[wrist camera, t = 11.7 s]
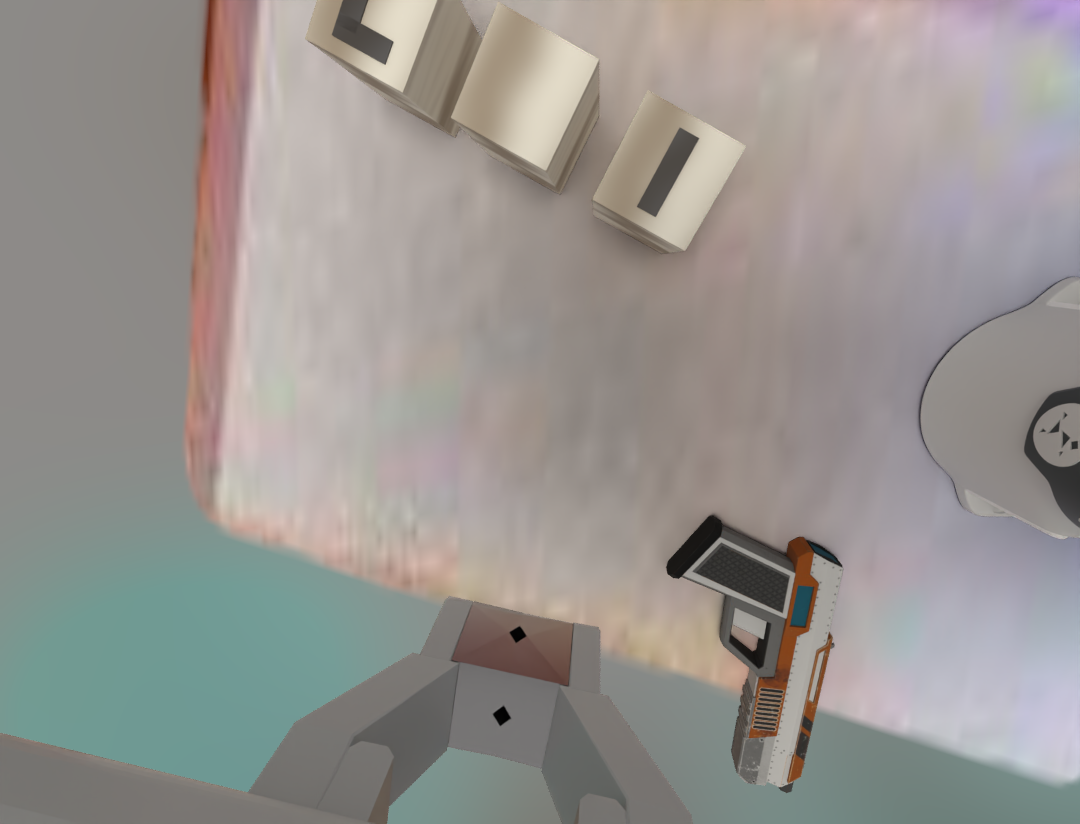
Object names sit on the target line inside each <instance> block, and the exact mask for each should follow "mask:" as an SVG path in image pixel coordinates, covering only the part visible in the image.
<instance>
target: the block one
mask: <svg viewBox="0 0 1080 824" xmlns="http://www.w3.org/2000/svg"><path fill="white" fill-rule="evenodd" d="M745 148H746V146H745V145H744V144H742V143H740V142H738V141H737V140H735V139H733V138H731V137H729V136H728V135H726V134H724V133H722V132H721V131H719V130H717V129H715V128H714V127H712V126H710V125H708V124H706V123H705V122H703V121H701V120H699V119H698V118H696V117H694V116H692V115H691V114H689V113H687V112H685V111H684V110H682V109H680V108H678V107H676V106H675V105H673V104H671V103H669V102H668V101H666V100H664V99H662V98H661V97H659V96H657V95H655V94H654V93H652V92H650V91H647V93H646V95H645V97H644V99H643V101H642V103H641V105H640V107H639V109H638V111H637V113H636V114H635V116H634V118H633V120H632V122H631V124H630V126H629V128H628V130H627V132H626V134H625V136H624V138H623V140H622V142H621V144H620V146H619V148H618V150H617V152H616V154H615V156H614V157H613V159H612V161H611V163H610V165H609V167H608V169H607V171H606V173H605V175H604V177H603V179H602V181H601V183H600V185H599V187H598V189H597V191H596V193H595V195H594V197H593V199H592V204H593V213H594V216H595V217H597V218H598V219H600V220H602V221H604V222H606V223H607V224H609V225H611V226H613V227H615V228H616V229H618V230H620V231H622V232H624V233H626V234H627V235H629V236H631V237H633V238H635V239H636V240H638V241H640V242H642V243H644V244H645V245H647V246H649V247H651V248H653V249H654V250H656V251H658V252H660V253H662V254H665V253H673V252H681V251H685V250H686V249H687V247H688V245H689V244H690V242H691V240H692V238H693V237H694V235H695V233H696V232H697V230H698V228H699V226H700V225H701V223H702V221H703V220H704V218H705V216H706V215H707V213H708V211H709V209H710V208H711V206H712V204H713V203H714V201H715V199H716V197H717V196H718V194H719V192H720V191H721V189H722V187H723V185H724V184H725V182H726V180H727V179H728V177H729V175H730V173H731V172H732V170H733V168H734V167H735V165H736V163H737V161H738V160H739V158H740V156H741V155H742V153H743V151H744V150H745Z"/></svg>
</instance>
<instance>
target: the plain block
mask: <svg viewBox="0 0 1080 824" xmlns="http://www.w3.org/2000/svg"><path fill="white" fill-rule="evenodd" d="M598 117H599V59H598V58H596V57H594V56H592V55H591V54H589V53H587V52H585V51H584V50H582V49H580V48H578V47H577V46H575V45H573V44H571V43H570V42H568V41H566V40H564V39H563V38H561V37H559V36H557V35H555V34H554V33H552V32H550V31H548V30H547V29H545V28H543V27H541V26H540V25H538V24H536V23H534V22H533V21H531V20H529V19H527V18H526V17H524V16H522V15H520V14H519V13H517V12H515V11H513V10H512V9H510V8H508V7H506V6H505V5H503V4H501V3H499V2H498V4H497V6H496V8H495V11H494V13H493V16H492V18H491V21H490V23H489V26H488V28H487V30H486V33H485V35H484V38H483V40H482V43H481V45H480V47H479V50H478V52H477V55H476V57H475V60H474V62H473V65H472V67H471V69H470V72H469V74H468V77H467V79H466V82H465V84H464V87H463V89H462V91H461V94H460V96H459V99H458V101H457V104H456V106H455V109H454V111H453V113H452V116H451V119H453V120H454V121H455V122H456V123H457V124H458V125H459V126H460V127H461V128H462V129H463V130H464V131H465V132H466V133H467V134H468V135H469V136H470V137H471V138H472V139H473V140H474V141H475V142H476V143H477V144H478V145H479V146H480V147H481V148H482V149H484V150H485V151H486V152H487V153H488V154H489V155H490V156H491V157H493V158H495V159H496V160H498V161H500V162H502V163H504V164H505V165H507V166H509V167H511V168H512V169H514V170H516V171H518V172H520V173H521V174H523V175H525V176H527V177H529V178H530V179H532V180H534V181H536V182H538V183H539V184H541V185H543V186H545V187H547V188H548V189H550V190H552V191H554V192H556V193H557V194H559V195H560V194H561V192H562V190H563V188H564V186H565V184H566V182H567V180H568V178H569V176H570V174H571V172H572V170H573V168H574V166H575V164H576V162H577V160H578V158H579V156H580V154H581V152H582V150H583V148H584V146H585V144H586V142H587V140H588V138H589V136H590V133H591V131H592V129H593V127H594V125H595V123H596V121H597V119H598Z"/></svg>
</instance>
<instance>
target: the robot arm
mask: <svg viewBox="0 0 1080 824" xmlns="http://www.w3.org/2000/svg"><path fill="white" fill-rule="evenodd" d="M921 429H922V434H923V438H924V441H925V444H926V446H927V448H928V450H929V452H930V454H931V455H932V457H933V458H934V460H935V461H936V462H937V463H938V464H939V465H940V466H941V467H942V468H943V469H944V470H945V471H946V472H947V473H948V474H949V476H950V477H951V478H952V480H953V481H954V484H955V488H956V492H957V495H958V498H959V501H960V503H961V505H962V506H963V508H964V509H966V510H967V511H969V512H971V513H973V514H975V515H978V516H986V517H1015V518H1017V519H1019V520H1021V521H1023V522H1025V523H1027V524H1029V525H1030V526H1032V527H1034V528H1036V529H1038V530H1040V531H1042V532H1044V533H1046V534H1048V535H1050V536H1052V537H1055V538H1058V539H1066V538H1068V537H1073V538H1080V277H1070V278H1066V279H1064V280H1062V281H1060V282H1058V283H1057V284H1055V285H1054V286H1053V287H1051V288H1050V289H1048V290H1047V291H1046V292H1045V293H1043V294H1042V295H1041V296H1040V297H1038V298H1037V299H1036V300H1035V301H1034V302H1032V303H1031V304H1029V305H1028V306H1026V307H1024V308H1021V309H1019V310H1017V311H1014V312H1011V313H1009V314H1006V315H1003V316H1001V317H998V318H996V319H994V320H991V321H989V322H987V323H986V324H984V325H982V326H980V327H979V328H977V329H975V330H974V331H972V332H971V333H969V334H968V335H967V336H966V337H964V338H963V339H962V340H961V341H959V342H958V343H957V344H956V345H955V346H954V347H953V348H952V349H951V350H950V351H949V352H948V353H947V354H946V356H945V357H944V358H943V359H942V361H941V362H940V363H939V365H938V366H937V368H936V369H935V371H934V373H933V374H932V376H931V378H930V380H929V382H928V385H927V387H926V390H925V393H924V396H923V400H922V406H921ZM447 747H451V748H456V749H461V750H466V751H471V752H476V753H481V754H487V755H491V756H496V757H500V758H503V759H507V760H511V761H515V762H519V763H523V764H526V765H530V766H534V767H538V768H542V773H543V776H544V779H545V781H546V783H547V786H548V789H549V792H550V794H551V797H552V799H553V802H554V804H555V807H556V810H557V812H558V815H559V817H560V820H561V822H562V824H693V822H692V816H691V814H690V812H689V811H688V810H687V808H686V807H685V805H684V804H683V802H682V801H681V800H680V798H679V797H678V795H677V794H676V792H675V791H674V790H673V788H672V787H671V785H670V784H669V782H668V781H667V779H666V778H665V777H664V775H663V774H662V772H661V771H660V769H659V768H658V767H657V765H656V764H655V762H654V761H653V759H652V758H651V756H650V755H649V754H648V752H647V751H646V749H645V748H644V747H643V745H642V744H641V742H640V741H639V739H638V738H637V736H636V735H635V733H634V732H633V731H632V729H631V728H630V726H629V725H628V723H627V722H626V721H625V719H624V718H623V716H622V715H621V713H620V712H619V710H618V709H617V708H616V706H615V705H614V704H613V702H612V700H611V699H610V698H609V696H607V695H603V694H600V629H599V627H595V626H589V625H584V624H578V623H573V624H572V623H569V622H564V621H559V620H554V619H549V618H544V617H539V616H535V615H530V614H525V613H522V612H518V611H513V610H509V609H505V608H501V607H496V606H492V605H488V604H484V603H479V602H475V601H474V602H473V601H470V600H465V599H461V598H456V597H452V596H449V597H448V598H447V599H446V600H445V601H444V604H443V606H442V608H441V611H440V612H439V614H438V617H437V619H436V621H435V623H434V626H433V627H432V630H431V632H430V634H429V636H428V638H427V640H426V643H425V645H424V647H423V649H422V651H421V653H420V654H416V653H412V654H410V655H408V656H407V657H405V658H403V659H401V660H400V661H398V662H396V663H394V664H393V665H391V666H389V667H388V668H386V669H384V670H383V671H381V672H379V673H378V674H376V675H374V676H372V677H371V678H369V679H367V680H366V681H364V682H362V683H361V684H359V685H357V686H356V687H354V688H352V689H350V690H349V691H347V692H346V693H344V694H342V695H341V696H339V697H337V698H335V699H334V700H332V701H330V702H328V703H327V704H325V705H323V706H322V707H320V708H318V709H317V710H315V711H313V712H312V713H310V714H308V715H307V716H305V717H303V718H302V719H300V720H298V721H296V722H295V723H294V724H293V726H292V728H291V729H290V730H289V732H288V733H287V735H286V736H285V738H284V739H283V741H282V742H281V744H280V745H279V747H278V748H277V750H276V751H275V753H274V754H273V756H272V757H271V759H270V760H269V762H268V763H267V765H266V766H265V768H264V769H263V771H262V772H261V774H260V775H259V777H258V778H257V780H256V781H255V783H254V784H253V786H252V787H251V789H250V790H249V792H248V793H247V792H243V791H239V790H235V789H231V788H227V787H223V786H219V785H214V784H210V783H206V782H202V781H198V780H194V779H190V778H185V777H181V776H177V775H173V774H169V773H165V772H160V771H156V770H152V769H148V768H144V767H139V766H136V765H132V764H127V763H123V762H119V761H115V760H111V759H106V758H103V757H98V756H94V755H90V754H86V753H82V752H78V751H74V750H69V749H65V748H61V747H57V746H53V745H49V744H44V743H40V742H36V741H32V740H28V739H24V738H19V737H16V736H11V735H7V734H3V733H0V824H387V820H388V809H389V806H390V805H391V804H392V803H393V802H394V801H395V800H396V799H397V798H398V797H399V796H400V795H401V794H402V793H404V791H406V790H407V788H409V787H410V786H411V785H412V784H413V783H414V782H415V781H416V780H417V779H418V778H419V777H420V776H421V775H422V774H423V773H424V772H425V771H426V770H427V769H428V768H429V767H430V766H431V765H432V764H433V763H434V762H435V761H436V760H437V759H438V758H439V757H440V756H441V755H442V754H443V753H444V752H445V751H446V750H447Z"/></svg>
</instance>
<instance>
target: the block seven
mask: <svg viewBox="0 0 1080 824" xmlns="http://www.w3.org/2000/svg"><path fill="white" fill-rule="evenodd" d="M305 39H306V40H308V41H309V42H310V43H312V44H313V45H314V46H315V47H317V48H318V49H319V50H321V51H322V52H323V53H325V54H326V55H327V56H329V57H330V58H331V59H333V60H334V61H335V62H337V63H338V64H339V65H341V66H342V67H343V68H345V69H346V70H347V71H348V72H350V73H351V74H352V75H354V76H355V77H356V78H358V79H359V80H360V81H362V82H363V83H364V84H366V85H367V86H368V87H370V88H371V89H372V90H374V91H375V92H376V93H378V94H379V95H380V96H382V97H383V98H384V99H386V100H388V101H389V102H391V103H393V104H395V105H397V106H398V107H400V108H402V109H404V110H406V111H408V112H409V113H411V114H413V115H415V116H417V117H418V118H420V119H422V120H424V121H426V122H427V123H429V124H431V125H433V126H435V127H437V128H438V129H440V130H442V131H444V132H446V133H447V134H449V135H451V136H453V137H455V138H456V135H457V133H458V131H459V128H460V126H459V125H458V124H457V123H456V122H455V121H454V120H453V119H451V116H452V113H453V111H454V109H455V106H456V104H457V101H458V99H459V96H460V94H461V91H462V89H463V87H464V84H465V82H466V79H467V77H468V74H469V72H470V69H471V67H472V65H473V62H474V60H475V57H476V55H477V52H478V50H479V47H480V45H481V43H482V40H481V38H480V36H479V34H478V32H477V30H476V29H475V27H474V25H473V23H472V21H471V19H470V17H469V15H468V13H467V12H466V10H465V8H464V6H463V4H462V2H461V0H317V2H316V5H315V8H314V12H313V15H312V18H311V21H310V25H309V28H308V31H307V34H306V37H305Z"/></svg>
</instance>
